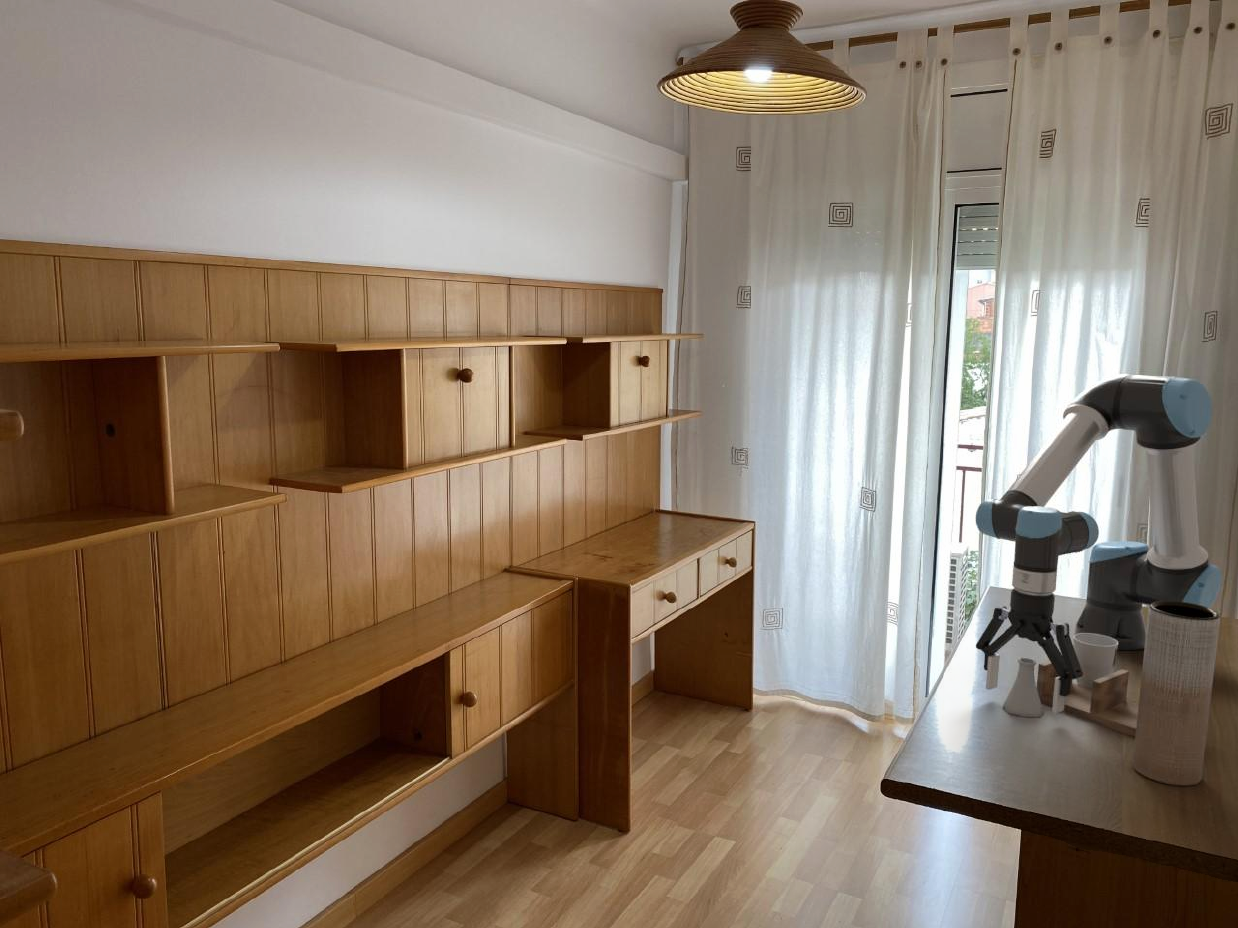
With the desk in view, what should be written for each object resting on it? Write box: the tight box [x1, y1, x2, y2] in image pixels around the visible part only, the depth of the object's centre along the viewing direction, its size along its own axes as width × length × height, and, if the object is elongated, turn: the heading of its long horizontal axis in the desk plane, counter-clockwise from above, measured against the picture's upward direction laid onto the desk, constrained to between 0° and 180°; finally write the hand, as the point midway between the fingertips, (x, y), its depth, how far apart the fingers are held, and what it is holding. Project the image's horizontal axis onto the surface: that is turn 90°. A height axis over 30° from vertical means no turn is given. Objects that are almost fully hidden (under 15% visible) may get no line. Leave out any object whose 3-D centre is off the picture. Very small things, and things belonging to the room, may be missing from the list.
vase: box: [1132, 601, 1221, 787], centre depth 158 cm, size 10×10×28 cm
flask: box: [1002, 657, 1044, 718], centre depth 184 cm, size 7×7×10 cm
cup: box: [1072, 633, 1118, 689], centre depth 197 cm, size 8×8×10 cm
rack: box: [1036, 660, 1139, 738], centre depth 184 cm, size 12×23×8 cm, turn 36°
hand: (1023, 699), depth 185 cm, fingers open, 13 cm apart
